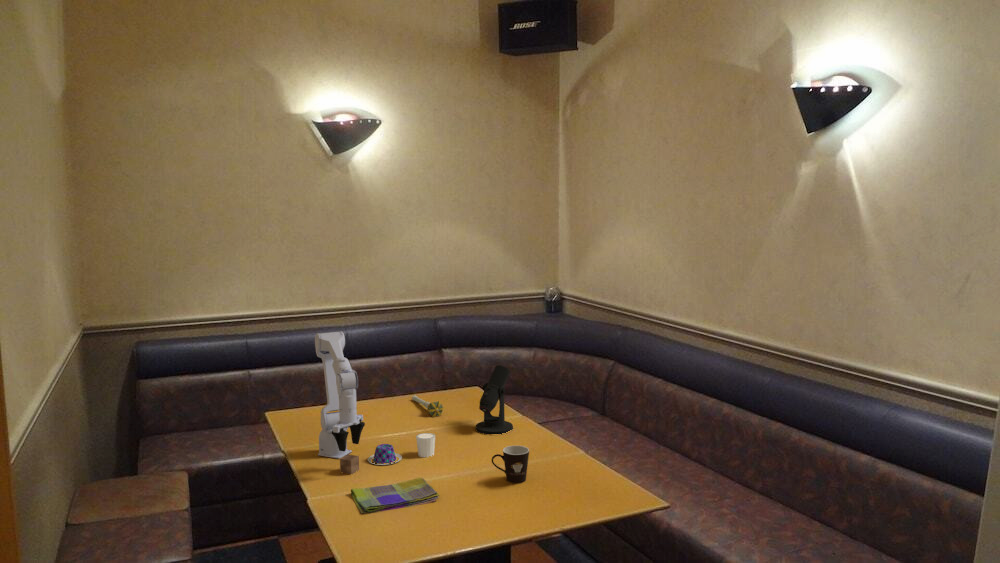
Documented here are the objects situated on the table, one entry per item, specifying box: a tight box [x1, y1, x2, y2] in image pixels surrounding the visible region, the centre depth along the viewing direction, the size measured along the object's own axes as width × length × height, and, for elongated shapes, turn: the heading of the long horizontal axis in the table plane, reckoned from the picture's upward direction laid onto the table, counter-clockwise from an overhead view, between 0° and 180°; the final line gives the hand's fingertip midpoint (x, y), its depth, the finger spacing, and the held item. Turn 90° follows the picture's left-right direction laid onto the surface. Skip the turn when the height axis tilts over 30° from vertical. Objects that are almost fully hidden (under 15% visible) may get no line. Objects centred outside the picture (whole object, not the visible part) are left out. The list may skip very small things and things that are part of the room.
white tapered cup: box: [415, 432, 436, 458], centre depth 261 cm, size 7×7×7 cm
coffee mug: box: [491, 445, 530, 484], centre depth 238 cm, size 12×9×10 cm
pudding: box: [367, 443, 403, 466], centre depth 256 cm, size 12×12×5 cm
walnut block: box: [339, 453, 360, 475], centre depth 245 cm, size 4×4×5 cm
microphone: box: [475, 364, 514, 435], centre depth 288 cm, size 15×17×25 cm
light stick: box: [411, 394, 445, 418], centre depth 317 cm, size 7×6×30 cm
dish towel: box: [350, 477, 441, 515], centre depth 224 cm, size 18×24×3 cm
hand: (349, 447), depth 244 cm, fingers open, 7 cm apart
